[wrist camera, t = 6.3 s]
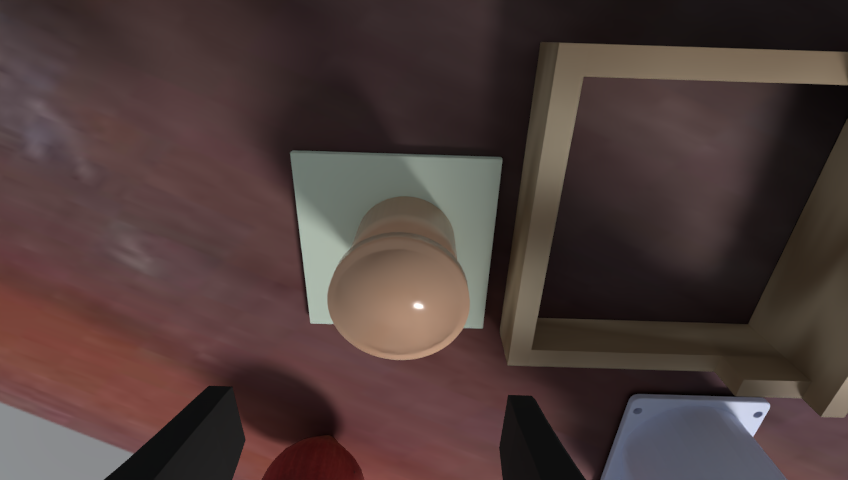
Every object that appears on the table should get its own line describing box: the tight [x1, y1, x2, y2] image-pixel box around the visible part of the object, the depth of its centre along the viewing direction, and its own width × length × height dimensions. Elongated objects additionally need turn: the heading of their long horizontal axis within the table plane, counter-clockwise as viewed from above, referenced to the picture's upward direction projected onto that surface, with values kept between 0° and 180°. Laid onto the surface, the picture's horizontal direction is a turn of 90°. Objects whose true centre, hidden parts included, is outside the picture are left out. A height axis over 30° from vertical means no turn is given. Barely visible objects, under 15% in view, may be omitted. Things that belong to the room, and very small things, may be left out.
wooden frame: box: [500, 42, 848, 417], centre depth 16 cm, size 14×14×5 cm
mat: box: [290, 150, 503, 329], centre depth 19 cm, size 9×9×1 cm
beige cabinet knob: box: [327, 196, 470, 360], centre depth 17 cm, size 5×5×5 cm
